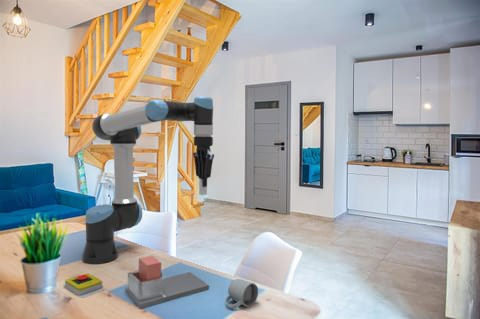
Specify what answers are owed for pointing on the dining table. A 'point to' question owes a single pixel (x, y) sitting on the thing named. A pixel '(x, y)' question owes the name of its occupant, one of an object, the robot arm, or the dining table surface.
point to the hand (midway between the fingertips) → (203, 194)
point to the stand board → (174, 289)
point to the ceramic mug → (242, 293)
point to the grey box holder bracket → (145, 287)
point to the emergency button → (84, 285)
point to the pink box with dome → (149, 268)
